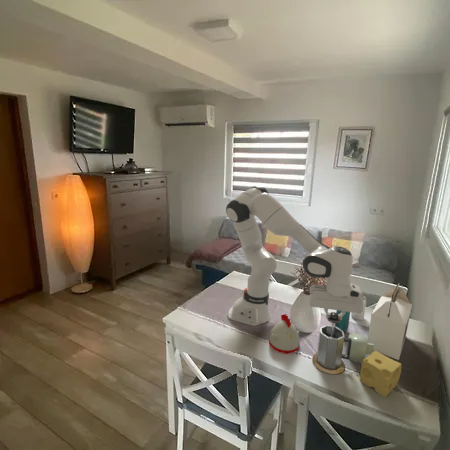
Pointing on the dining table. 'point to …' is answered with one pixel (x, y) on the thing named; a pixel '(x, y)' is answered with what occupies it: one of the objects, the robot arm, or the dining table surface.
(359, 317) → the can
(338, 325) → the beverage bottle
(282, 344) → the kitchen timer
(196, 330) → the dining table surface
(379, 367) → the cheese
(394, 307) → the gable box
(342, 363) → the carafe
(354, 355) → the mug
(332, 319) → the plunger
